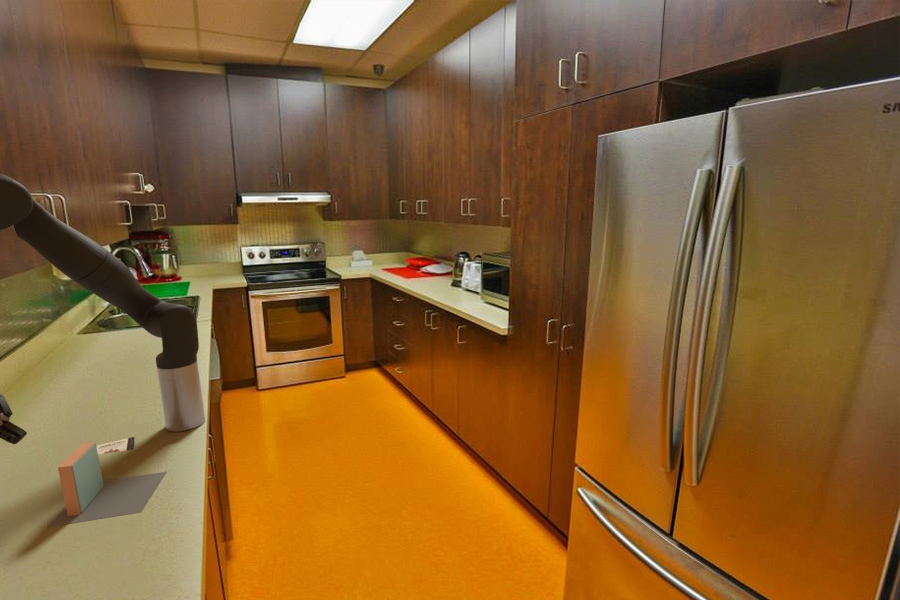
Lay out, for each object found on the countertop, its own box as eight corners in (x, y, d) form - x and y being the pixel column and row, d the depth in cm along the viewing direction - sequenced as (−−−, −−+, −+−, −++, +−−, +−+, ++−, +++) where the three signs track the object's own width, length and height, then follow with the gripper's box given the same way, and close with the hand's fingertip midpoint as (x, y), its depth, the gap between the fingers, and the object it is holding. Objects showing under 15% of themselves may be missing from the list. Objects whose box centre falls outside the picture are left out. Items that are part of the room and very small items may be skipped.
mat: (87, 486, 95) (87, 482, 95) (167, 474, 99) (167, 471, 99) (48, 530, 82) (47, 527, 82) (141, 515, 85) (141, 512, 85)
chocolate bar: (79, 483, 96) (89, 447, 110) (80, 487, 96) (90, 450, 111) (131, 469, 100) (134, 436, 115) (131, 473, 100) (135, 440, 115)
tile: (92, 488, 93) (83, 443, 91) (104, 486, 94) (96, 442, 92) (67, 516, 84) (57, 467, 83) (81, 513, 85) (71, 465, 83)
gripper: (-96, 381, 73) (11, 440, 78) (-33, 356, 85) (56, 409, 91) (-129, 416, 72) (-19, 473, 78) (-61, 386, 85) (30, 437, 90)
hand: (21, 438), depth 84 cm, fingers closed
